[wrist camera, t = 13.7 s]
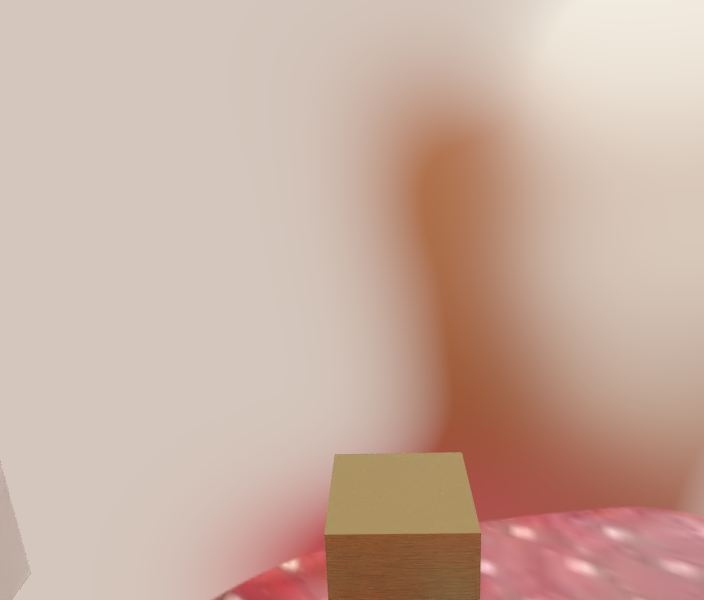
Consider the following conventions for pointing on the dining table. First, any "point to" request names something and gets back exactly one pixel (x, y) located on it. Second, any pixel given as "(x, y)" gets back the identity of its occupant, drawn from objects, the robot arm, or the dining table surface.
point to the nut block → (402, 528)
